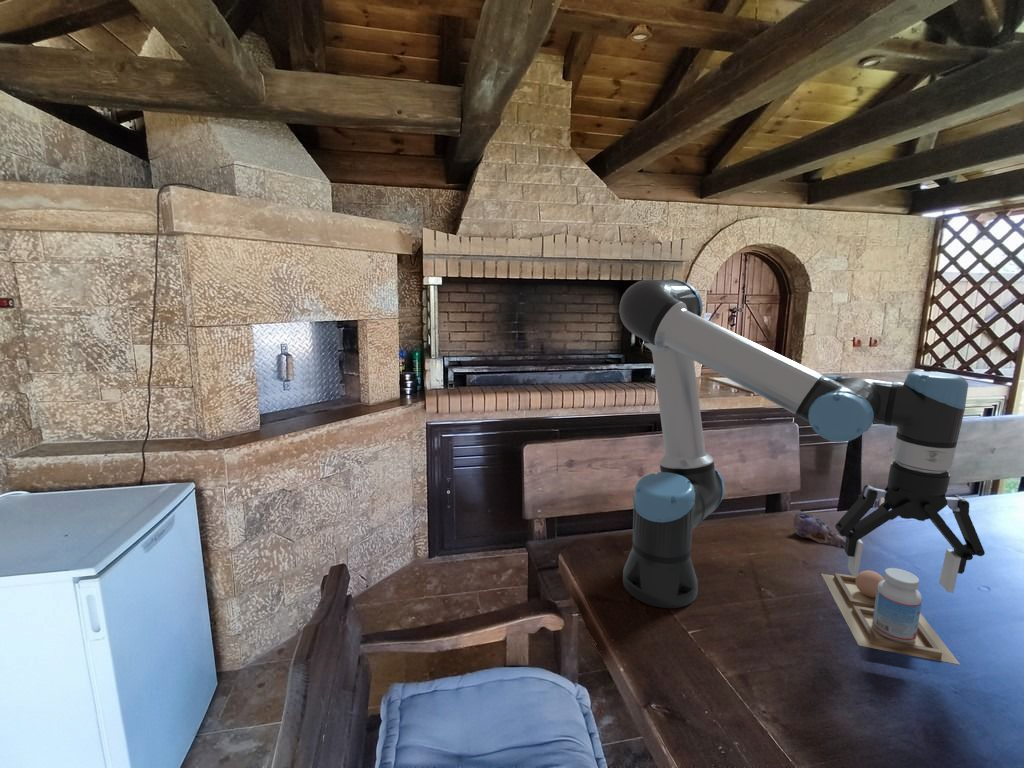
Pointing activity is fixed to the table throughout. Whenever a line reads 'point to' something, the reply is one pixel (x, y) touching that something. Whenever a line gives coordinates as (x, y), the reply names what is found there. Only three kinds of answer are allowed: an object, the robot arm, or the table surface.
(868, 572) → the egg
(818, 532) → the skull
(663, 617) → the table surface
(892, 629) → the pill bottle
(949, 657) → the tray
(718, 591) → the table surface
